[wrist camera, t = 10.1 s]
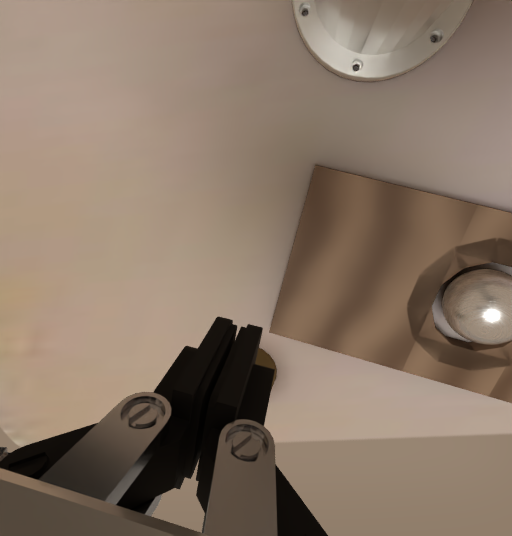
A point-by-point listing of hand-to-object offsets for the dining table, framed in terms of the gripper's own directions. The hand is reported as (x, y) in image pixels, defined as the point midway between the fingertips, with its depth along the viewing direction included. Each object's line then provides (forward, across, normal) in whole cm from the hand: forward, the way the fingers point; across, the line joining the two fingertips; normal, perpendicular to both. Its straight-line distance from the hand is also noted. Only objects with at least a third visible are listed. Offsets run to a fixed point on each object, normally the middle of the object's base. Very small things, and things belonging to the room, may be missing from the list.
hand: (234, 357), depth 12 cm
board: (+20, -13, +2) cm, 24 cm away
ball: (+17, -17, +2) cm, 24 cm away
